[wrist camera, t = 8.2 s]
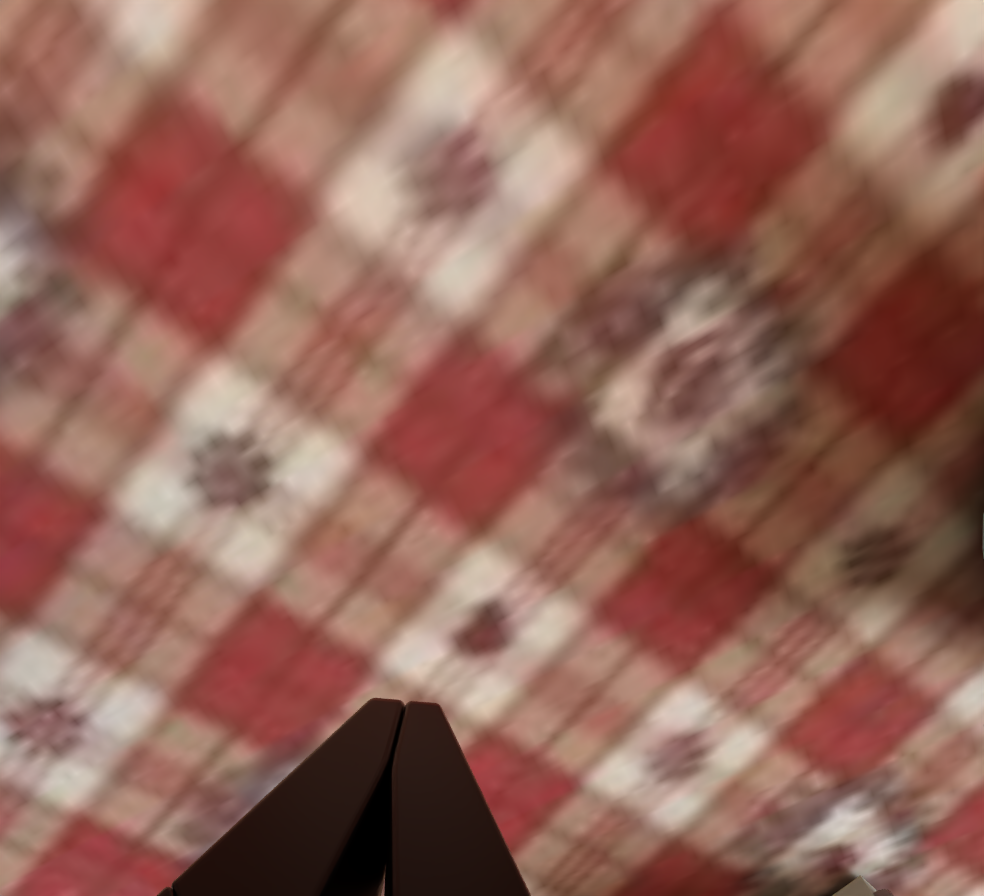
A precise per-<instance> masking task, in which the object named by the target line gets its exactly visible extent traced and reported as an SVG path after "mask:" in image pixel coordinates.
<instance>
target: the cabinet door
mask: <svg viewBox="0 0 984 896" xmlns="http://www.w3.org/2000/svg"><path fill="white" fill-rule="evenodd" d="M832 896H893V894H892V893H891V892H890V891H889V890H886V889H882V890H878V891H877V890H876V889H875V888H874V887H872V886H871V885H870V884H869V883H868V882H867V881H866V880H865V879H864V878H863V877H862V876H861V875H860V876H859V877H857V878H856V879H855V880H853V881H852V882H850V883H849V884H848V885H846V886H845V887H844V888H842V889H841V890H839V891H838V892H837V893H835V894H834V895H832Z"/></svg>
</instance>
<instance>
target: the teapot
mask: <svg viewBox="0 0 984 896" xmlns="http://www.w3.org/2000/svg"><path fill="white" fill-rule="evenodd" d="M983 557H984V514H983Z"/></svg>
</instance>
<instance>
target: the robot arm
mask: <svg viewBox="0 0 984 896" xmlns="http://www.w3.org/2000/svg"><path fill="white" fill-rule="evenodd" d="M384 879H385V893H384V896H531V895H530V892H529V890H528V888H527V886H526V884H525V882H524V880H523V878H522V876H521V874H520V871H519V869H518V867H517V865H516V863H515V861H514V859H513V857H512V855H511V852H510V850H509V848H508V846H507V844H506V842H505V840H504V838H503V836H502V834H501V831H500V829H499V827H498V825H497V823H496V821H495V819H494V817H493V815H492V813H491V810H490V808H489V806H488V804H487V802H486V800H485V798H484V796H483V794H482V792H481V789H480V787H479V785H478V783H477V781H476V779H475V777H474V775H473V773H472V771H471V768H470V766H469V764H468V762H467V760H466V758H465V756H464V754H463V752H462V750H461V747H460V745H459V743H458V741H457V739H456V737H455V735H454V733H453V731H452V729H451V726H450V724H449V722H448V720H447V718H446V716H445V714H444V712H443V710H442V708H441V706H440V705H439V704H437V703H429V702H417V701H410V702H408V703H407V704H406V705H404V703H403V702H402V701H401V700H394V699H382V698H372V699H370V700H369V701H368V702H367V703H365V704H364V705H363V706H362V707H361V708H360V709H359V710H358V711H357V712H356V713H355V714H354V715H353V716H351V717H350V718H349V719H348V720H347V721H346V722H345V723H344V724H343V725H342V726H341V727H340V728H339V729H337V730H336V731H335V732H334V733H333V734H332V735H331V736H330V737H329V738H328V739H327V740H326V741H324V742H323V743H322V744H321V745H320V746H319V747H318V748H317V749H316V750H315V751H314V752H313V753H312V754H310V755H309V756H308V757H307V758H306V759H305V760H304V761H303V762H302V763H301V764H300V765H299V766H298V767H296V768H295V769H294V770H293V771H292V772H291V773H290V774H289V775H288V776H287V777H286V778H285V779H284V780H282V781H281V782H280V783H279V784H278V785H277V786H276V787H275V788H274V789H273V790H272V791H271V792H270V793H268V794H267V795H266V796H265V797H264V798H263V799H262V800H261V801H260V802H259V803H258V804H257V805H256V806H254V807H253V808H252V809H251V810H250V811H249V812H248V813H247V814H246V815H245V816H244V817H243V818H242V819H240V820H239V821H238V822H237V823H236V824H235V825H234V826H233V827H232V828H231V829H230V830H229V831H228V832H226V833H225V834H224V835H223V836H222V837H221V838H220V839H219V840H218V841H217V842H216V843H215V844H214V845H212V846H211V847H210V848H209V849H208V850H207V851H206V852H205V853H204V854H203V855H202V856H201V857H200V858H198V859H197V860H196V861H195V862H194V863H193V864H192V865H191V866H190V867H189V868H188V869H187V870H186V871H184V872H183V873H182V874H181V875H180V876H179V877H178V878H177V879H176V880H175V881H174V882H173V883H172V886H171V887H172V888H170V887H166V888H165V889H163V890H162V891H161V892H160V893H159V894H158V895H157V896H381V893H382V889H383V884H384Z"/></svg>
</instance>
